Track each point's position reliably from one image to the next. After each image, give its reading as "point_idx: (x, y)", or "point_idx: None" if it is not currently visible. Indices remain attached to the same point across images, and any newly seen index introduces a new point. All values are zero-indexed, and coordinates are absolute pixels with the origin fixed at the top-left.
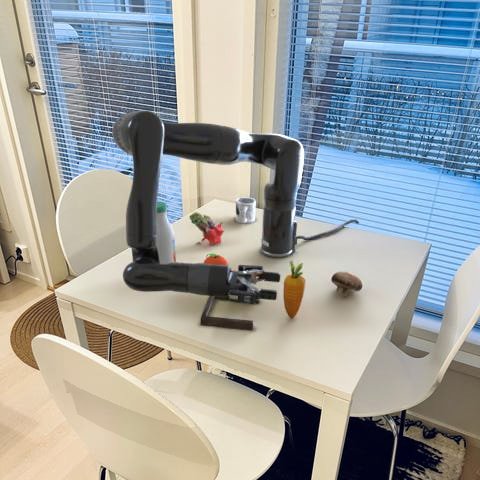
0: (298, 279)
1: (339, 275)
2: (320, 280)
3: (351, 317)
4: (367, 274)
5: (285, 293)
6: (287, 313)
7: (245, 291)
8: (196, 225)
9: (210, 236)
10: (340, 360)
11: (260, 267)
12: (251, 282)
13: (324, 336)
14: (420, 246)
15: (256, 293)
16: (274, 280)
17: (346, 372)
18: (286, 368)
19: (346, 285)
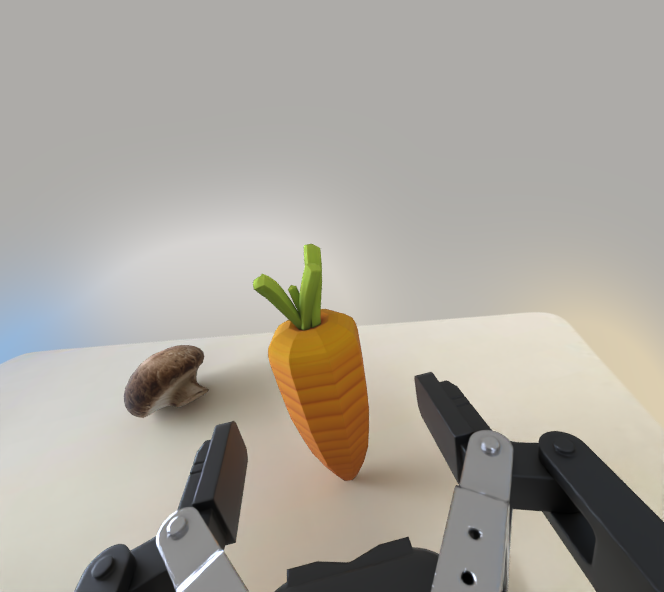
0: (327, 311)
1: (164, 363)
2: (86, 472)
3: None
4: (100, 390)
5: (352, 399)
6: (356, 469)
7: (600, 517)
8: None
9: None
10: (472, 339)
11: (114, 564)
12: (395, 542)
13: (401, 380)
14: (24, 357)
15: (515, 451)
16: (242, 472)
17: (502, 324)
18: (627, 401)
19: (197, 363)
